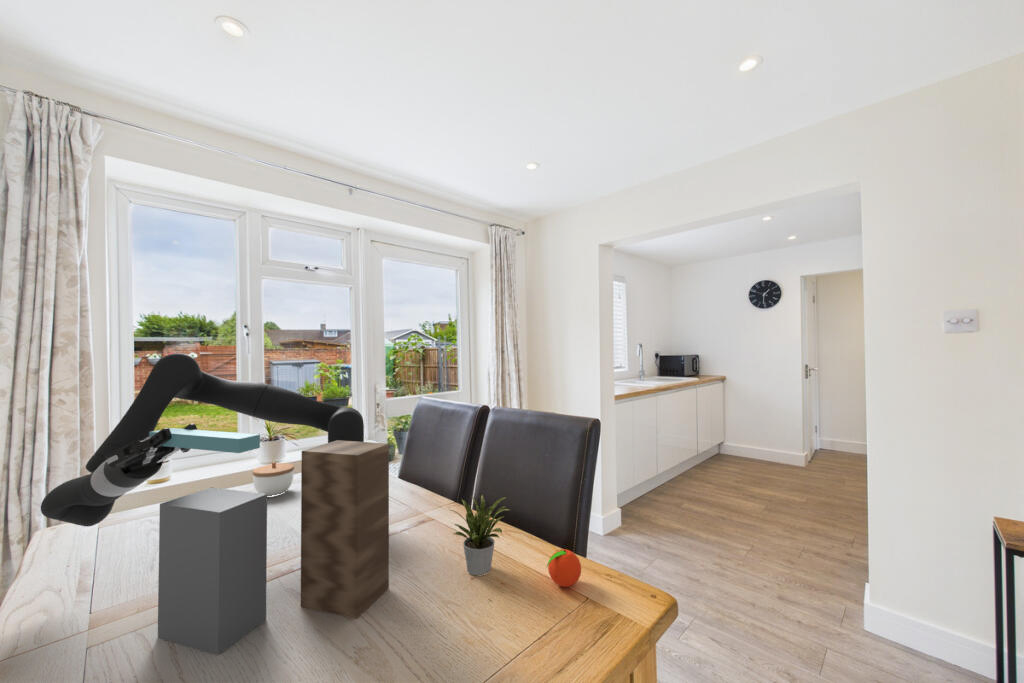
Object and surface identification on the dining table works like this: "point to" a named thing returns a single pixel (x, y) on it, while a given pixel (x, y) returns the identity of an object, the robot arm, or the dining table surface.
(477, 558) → the house plant
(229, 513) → the block
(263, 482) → the lidded bowl
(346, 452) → the stand
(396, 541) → the dining table surface
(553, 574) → the clementine
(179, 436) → the block
